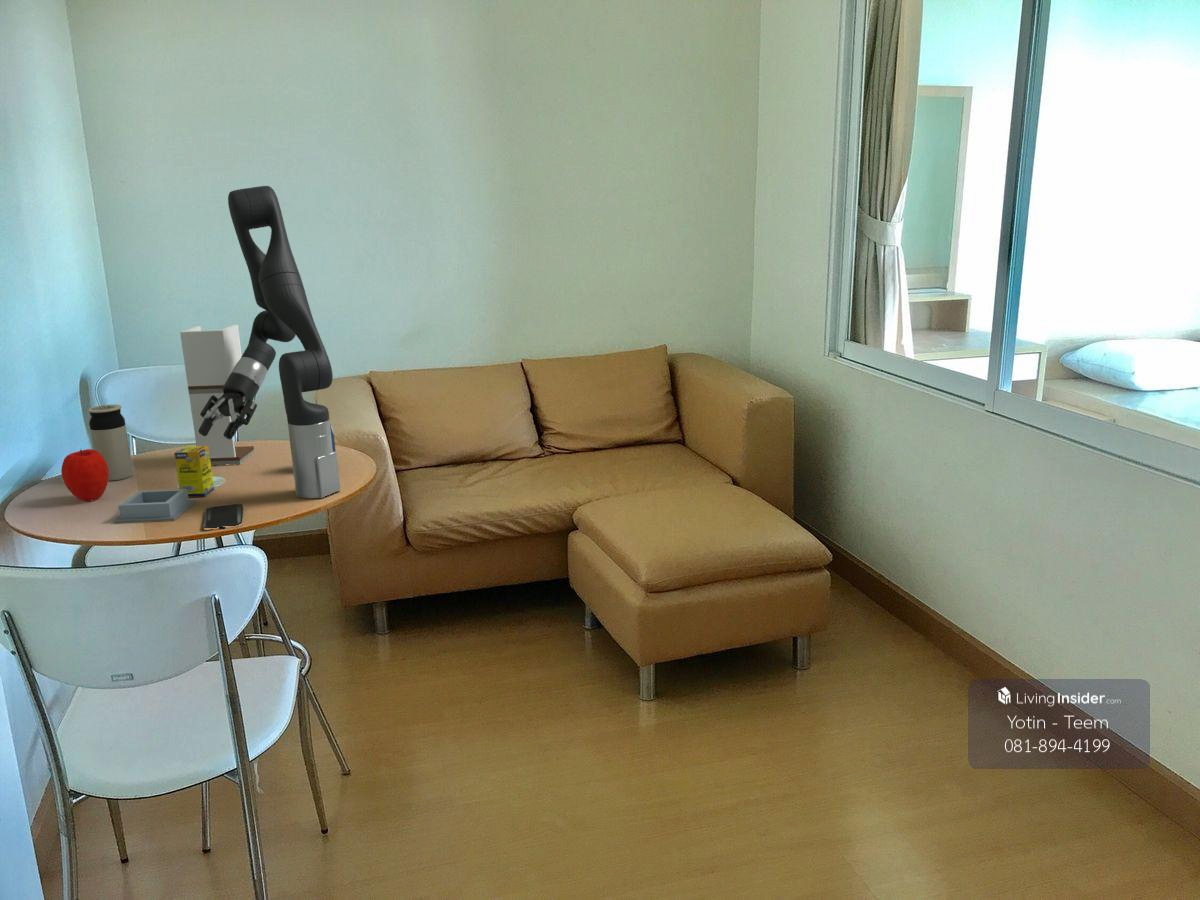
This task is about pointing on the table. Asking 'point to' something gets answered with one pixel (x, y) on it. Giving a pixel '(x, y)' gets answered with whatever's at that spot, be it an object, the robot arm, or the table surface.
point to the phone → (223, 516)
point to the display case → (212, 386)
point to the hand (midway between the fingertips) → (214, 436)
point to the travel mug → (111, 440)
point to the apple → (85, 474)
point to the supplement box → (194, 470)
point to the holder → (154, 506)
